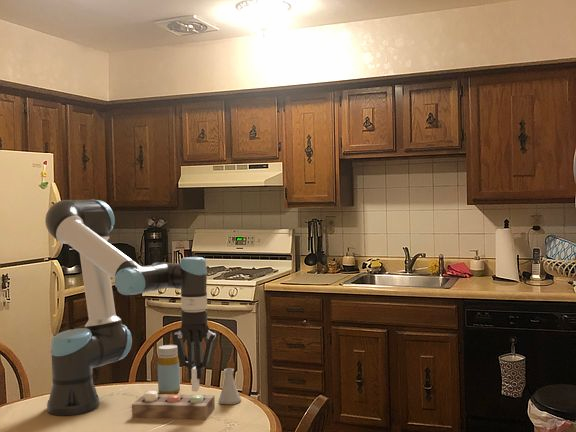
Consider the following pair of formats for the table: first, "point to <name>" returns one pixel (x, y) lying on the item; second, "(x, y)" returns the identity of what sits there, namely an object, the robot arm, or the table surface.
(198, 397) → the button sage
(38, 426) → the table surface
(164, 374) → the bottle
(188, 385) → the table surface
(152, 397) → the button ivory
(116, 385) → the table surface
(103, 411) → the table surface
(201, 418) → the console
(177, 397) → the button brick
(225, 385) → the flask
